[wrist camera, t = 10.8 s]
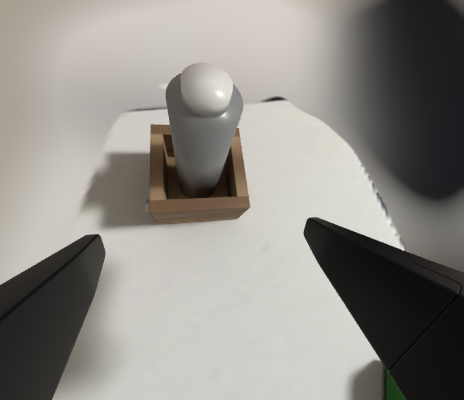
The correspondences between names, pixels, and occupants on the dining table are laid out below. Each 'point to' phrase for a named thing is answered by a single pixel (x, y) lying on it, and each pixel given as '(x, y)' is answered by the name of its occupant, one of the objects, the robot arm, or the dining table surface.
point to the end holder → (197, 209)
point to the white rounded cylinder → (202, 125)
